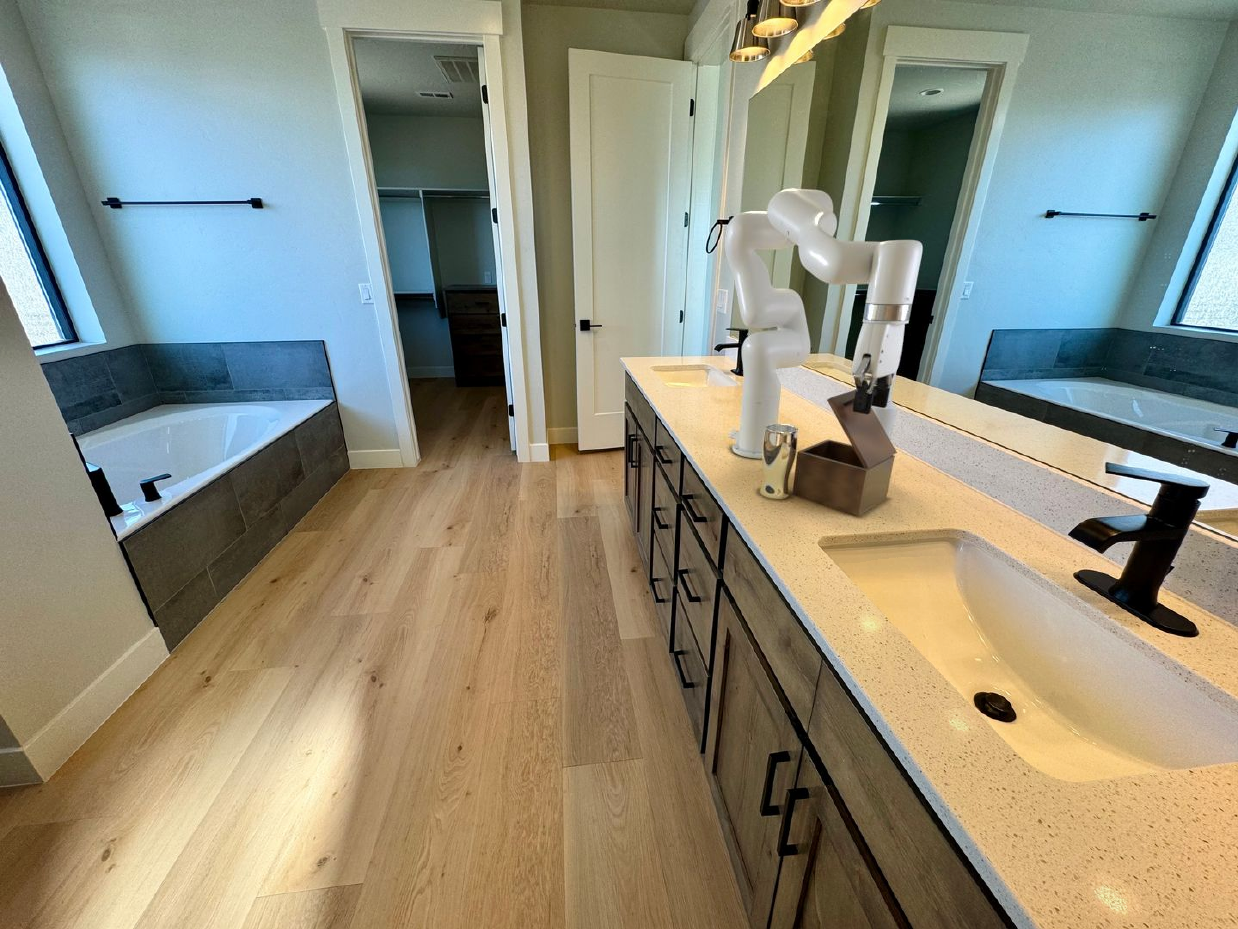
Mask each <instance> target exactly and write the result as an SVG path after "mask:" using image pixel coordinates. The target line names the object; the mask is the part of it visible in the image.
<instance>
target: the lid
mask: <svg viewBox="0 0 1238 929" xmlns="http://www.w3.org/2000/svg"><path fill="white" fill-rule="evenodd" d="M872 393H873V394H874V395H873V397H875V396H876V395H877V394H878V390H877V389H876V388H873V390H872ZM854 398H855V389H854V390H850V391H847V392H844V393H840V394H838V395H834V396H832V397H829V398H827V399H826V401H827V403H828V405H829V406H830V409H831V410H832V412H833V414H834V416H835V418H836V419H837V421H838V423H839V425H840V426H841V428H842V430H843V432H844V434H845V435H846V437H847V439H848V441H849V443H850V445H852V446H853V448H854V450H855V452H856V454H857V455H858V457H859V459H860V461H861V463H862V464H863V466H864V468H865V469H867V468H869V467H871V466H873V465H875V464H877V463H879V462H881V461H882V460H884V459H886V458H888V457H890V456H892V455H896V454H897V453H898V452H897V450H896V448H895V447H894V444H893V442H892V441H891V440H890V439H889V437H888V436H887V434H886V432H885V430H884V429H883V427H882V425H881V423H880V422H879V420H878V418H877V416H876V414H875V413H874V411H873V409H872V406H871V412H870V414H863V413H858V412H854V411H853V404H854Z"/></svg>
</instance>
